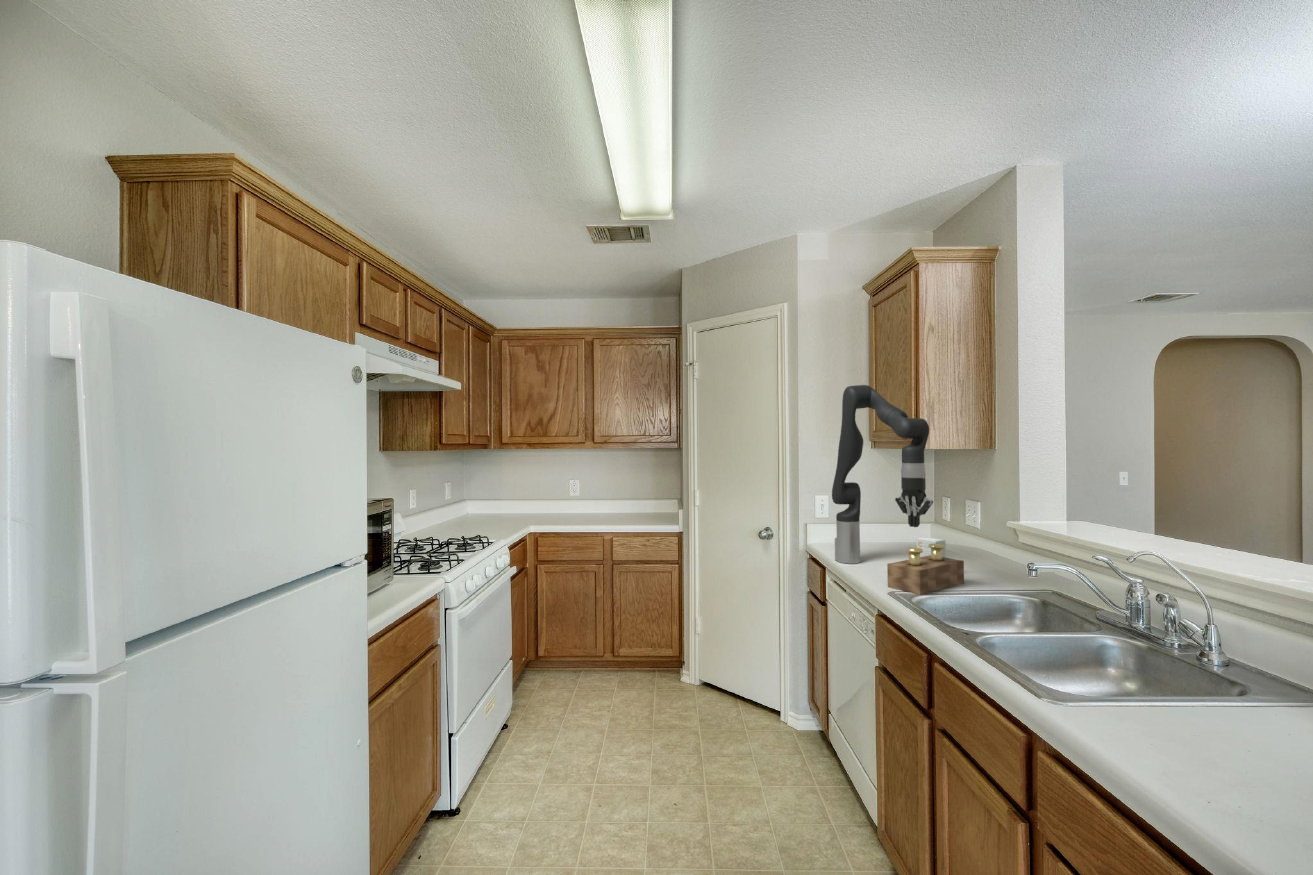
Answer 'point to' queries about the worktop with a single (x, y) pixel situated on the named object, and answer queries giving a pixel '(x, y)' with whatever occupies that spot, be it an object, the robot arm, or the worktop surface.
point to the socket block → (925, 575)
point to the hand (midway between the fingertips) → (914, 526)
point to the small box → (924, 545)
